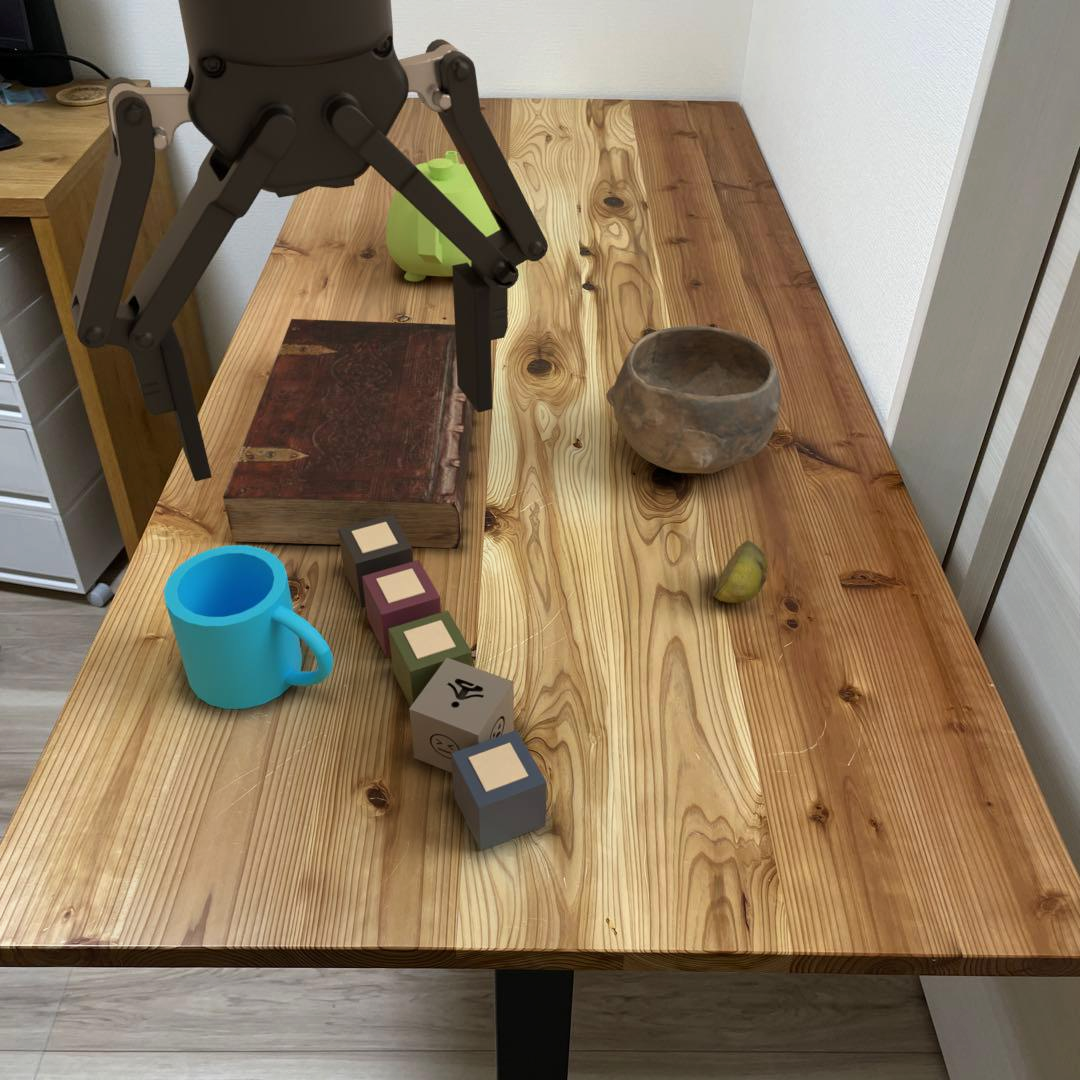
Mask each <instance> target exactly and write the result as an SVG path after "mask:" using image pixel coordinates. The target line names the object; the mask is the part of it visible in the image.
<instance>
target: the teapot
mask: <svg viewBox="0 0 1080 1080" xmlns="http://www.w3.org/2000/svg"><path fill="white" fill-rule="evenodd" d="M444 155H445V157H440V158H438V157H437V158H433V159H430V160H428V162H423V163H419V164H415V166H416V167H417V168H418V169H419V170H420V171H421V172H422V173H423V174H424V175H425V176H426V177H427V178H428V179H429V180H430V181H431V182H432V183H433V184H434V185H435V186H436V187H437V188H438V189H439V190H440V191H441V192H442V193H443V194H444V195H445V196H446V197H447V198H448V199H449V200H450V201H451V202H452V203H453V204H454V205H455V206H456V207H457V208H458V209H459V210H460V211H461V212H462V213H463V214H464V215H465V216H466V217H467V218H468V219H469V220H470V221H471V222H472V223H473V224H474V225H475V226H476V227H477V228H478V229H479V230H480V231H481V232H482V233H483V234H484V235H485V236H486V237H488V236H490V235H491V234H493V233H495V232H497V231H498V230H500V228H499V226H498V224H497V222H496V220H495V219H494V217H493V215H492V213H491V211H490V209H489V208H488V206H487V204H486V202H485V200H484V198H483V197H482V195H481V193H480V191H479V189H478V187H477V185H476V184H475V182H474V180H473V178H472V176H471V174H470V173H469V171H468V169H467V167H466V165H465V163H460V161H459V157H458V150H446V152H445V154H444ZM385 246H386V248H387V251H388V254H389V255H390V257H391V258H392V260H393V261H394V262H395V263H396V265H397V266H398V267H399V268H400V269H402V270H403V271H405V274H404V279H405V280H406V281H409V282H420V281H423V280H425V279H426V278H427V276H428V277H429V276H431V277H453V271H452V265H457V264H462V263H468V264H469V265H470V266H471V260H470V259H468V258H467V257H466V256H465V255H464V254H463V253H462V252H461V251H460V250H459V249H458V248H457V247H456V246H455V245H454V244H453V243H452V242H451V241H450V240H449V239H448V238H447V237H445V236H444V235H443V234H442V233H441V232H440V231H439V230H438V229H437V228H436V227H435V226H434V225H433V224H432V223H431V222H430V221H429V220H428V219H427V218H426V217H425V216H424V215H423V214H421V213H420V212H419V211H418V210H417V209H416V208H415V207H414V206H413V205H412V204H411V203H410V202H409V201H408V200H407V199H406V198H405V197H404V196H403V195H402V194H401V193H399V192H398V191H397V190H396V189H395V191H394V194H393V197H392V200H391V202H390V206H389V209H388V213H387V218H386V225H385Z"/></svg>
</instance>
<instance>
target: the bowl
mask: <svg viewBox="0 0 1080 1080" xmlns="http://www.w3.org/2000/svg"><path fill="white" fill-rule="evenodd" d="M605 398H606V401H607V402H608V404H609V405H610V406H611V407H612V408H613V412H614V418H615V421H616V424H618V428H619V429H620V431H621V433H622V435H623V437H624V438H625V440H626V442H627V443H628V444H629V446H630V447H631V448H632V449H633V450H634V451H635V452H636V454H637V455H638V456H641V458H643V459H644V460H645V461H647V462H649V463H651V464H652V465H655V466H657V467H660V468H661V469H665V470H668V471H670V472H673V473H678V474H706V475H707V474H714V473H717V472H719V471H720V472H721V471H722V470H724V469H727V468H729V467H730V468H731V467H734V466H736V465H739V464H741V463H743V462H746V461H747V460H749V459H751V458H753V457H754V456H756V455H757V454H758V453H760V452H761V451H762V450H764V448H765V447H766V446H767V445H768V443H769V441H770V440H771V438H772V436H773V433H774V432H775V429H776V426H777V424H778V421H779V417H780V412H781V404H782V403H781V401H782V394H781V384H780V376H779V373H778V369H777V367H776V364H775V361H774V359H773V357H772V356H771V354H770V353H769V352H768V350H767V349H766V348H764V347H763V346H762V345H761V344H760V343H758V342H757V341H756V340H754V339H752V338H751V337H748V336H746V335H745V334H741V333H739V332H735V331H732V330H728V329H724V328H718V327H713V326H696V325H682V326H681V325H680V326H673V327H667V328H663V329H659V330H655V331H652V332H650V333H648V334H646V335H644V336H643V337H641V338H640V339H638V340H637V341H636V342H635V343H634V344H633V345H632V347H631V349H630V350H629V352H628V354H627V356H626V357H625V359H624V361H623V364H622V366H621V368H620V370H619V373H618V375H617V377H616V379H615V382H614V384H613V385H612V386H611V387H610V388H609V389H608V390H607V392H606V394H605Z"/></svg>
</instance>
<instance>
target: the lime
mask: <svg viewBox="0 0 1080 1080" xmlns="http://www.w3.org/2000/svg"><path fill="white" fill-rule="evenodd" d="M767 573H768V562H767V559H766V555H765V553H764V552H763V550H762V549H761V548H760V547H759V546H758V545H756V544H755V543H754V542H752V541H750V540H745V541H743V542H742V543H741V544H740V545H738V547H737V548H736V549H735V551H734V552H733V554H732V556H731V557H730V559H729V560H728V561H727V563H726V565H725V568H723V570H722V573H721V575H720V577H719V579H718V581H717V582H716V586H715V589H714V591H713V597H714V598H715V599H716V600H718V601H720V602H722V603H723V602H724V603H727V604H728V603H729V604H739V603H745V602H748V601H750V600H752V599H754V598H755V597H757V595H759V593H760V591H761V590H762V589H763V587H764V585H765V583H766V581H767Z"/></svg>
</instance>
